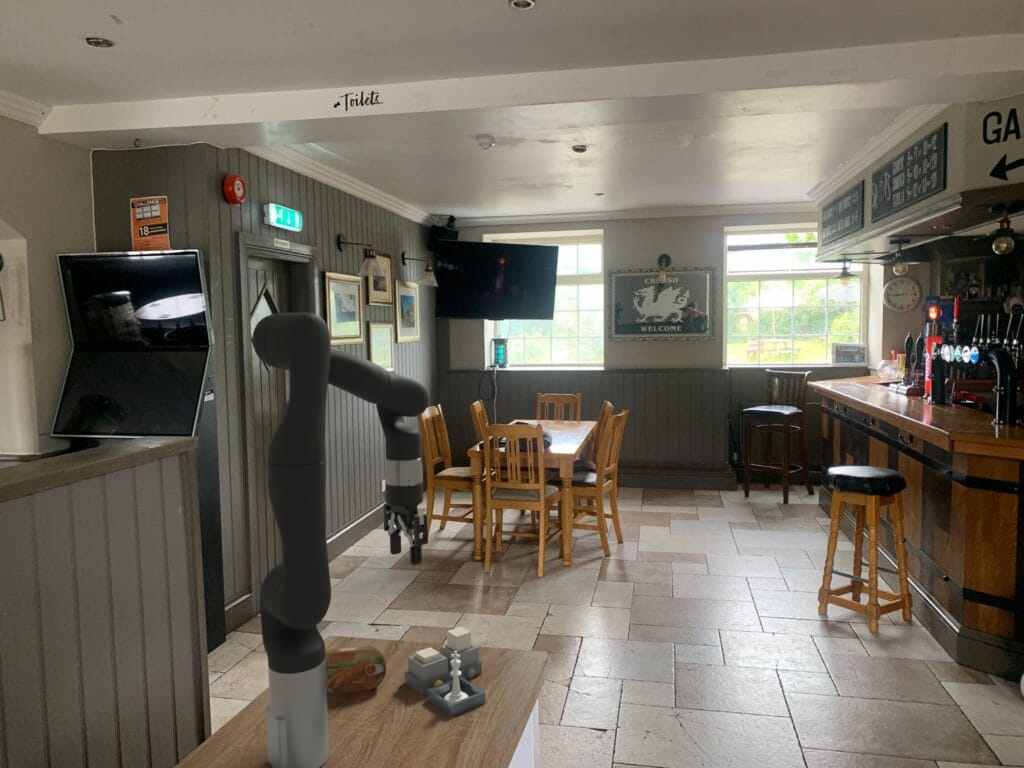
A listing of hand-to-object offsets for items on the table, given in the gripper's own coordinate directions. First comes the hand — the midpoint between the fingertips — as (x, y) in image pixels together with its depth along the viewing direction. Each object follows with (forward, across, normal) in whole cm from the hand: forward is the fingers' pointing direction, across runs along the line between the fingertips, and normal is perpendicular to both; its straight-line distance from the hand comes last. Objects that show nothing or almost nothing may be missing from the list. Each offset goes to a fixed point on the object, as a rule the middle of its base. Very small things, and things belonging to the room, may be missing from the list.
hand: (405, 558), depth 144 cm
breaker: (+21, +3, +11) cm, 23 cm away
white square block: (+23, +3, +3) cm, 23 cm away
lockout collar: (+26, +12, +4) cm, 29 cm away
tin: (+26, -5, -11) cm, 29 cm away
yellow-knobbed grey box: (+26, +3, +7) cm, 27 cm away
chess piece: (+26, +12, +4) cm, 29 cm away
